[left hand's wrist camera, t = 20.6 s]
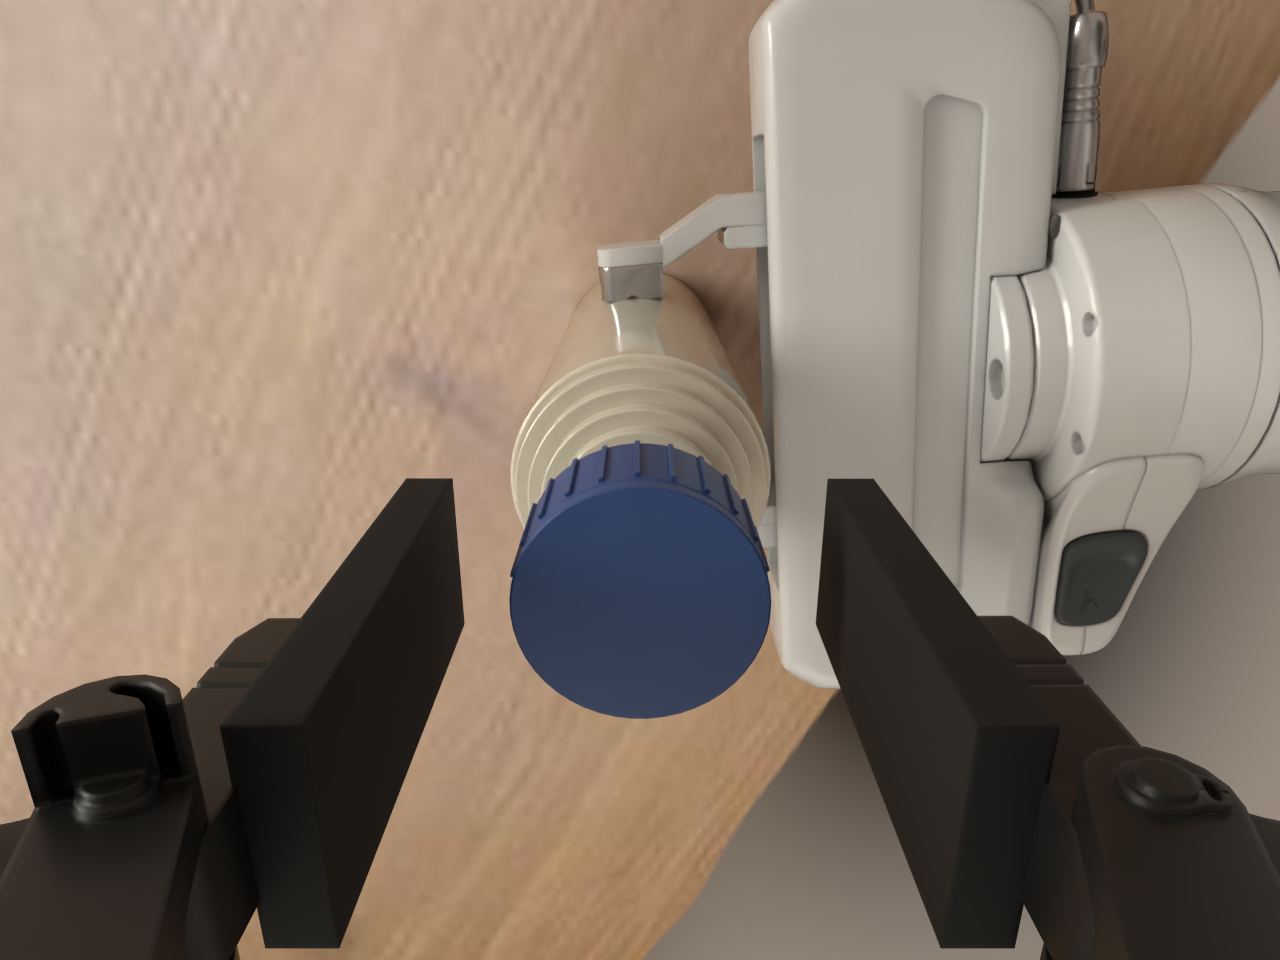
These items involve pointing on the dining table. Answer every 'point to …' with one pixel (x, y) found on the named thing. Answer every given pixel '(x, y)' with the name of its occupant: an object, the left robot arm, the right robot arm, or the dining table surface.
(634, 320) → the bottle
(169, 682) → the left robot arm
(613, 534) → the cap
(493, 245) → the dining table surface
